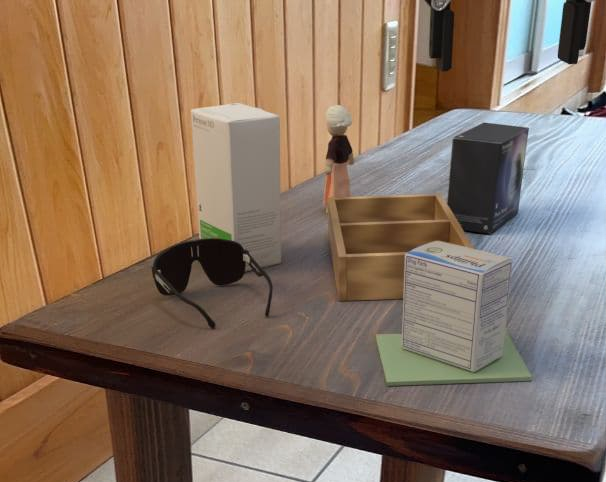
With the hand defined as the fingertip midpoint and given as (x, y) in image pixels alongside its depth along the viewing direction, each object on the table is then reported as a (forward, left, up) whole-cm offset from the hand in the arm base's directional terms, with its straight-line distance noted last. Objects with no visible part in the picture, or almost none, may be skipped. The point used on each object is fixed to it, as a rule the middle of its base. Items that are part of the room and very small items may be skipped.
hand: (505, 65), depth 66 cm
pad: (+4, +5, -22) cm, 23 cm away
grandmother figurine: (+11, -43, -22) cm, 49 cm away
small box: (-7, -36, -22) cm, 43 cm away
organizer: (+6, -21, -22) cm, 31 cm away
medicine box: (+4, +5, -22) cm, 23 cm away
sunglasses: (+25, -10, -22) cm, 34 cm away
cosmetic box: (+23, -24, -22) cm, 39 cm away
